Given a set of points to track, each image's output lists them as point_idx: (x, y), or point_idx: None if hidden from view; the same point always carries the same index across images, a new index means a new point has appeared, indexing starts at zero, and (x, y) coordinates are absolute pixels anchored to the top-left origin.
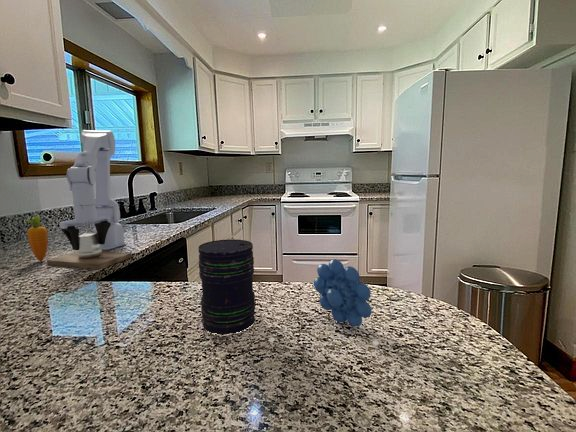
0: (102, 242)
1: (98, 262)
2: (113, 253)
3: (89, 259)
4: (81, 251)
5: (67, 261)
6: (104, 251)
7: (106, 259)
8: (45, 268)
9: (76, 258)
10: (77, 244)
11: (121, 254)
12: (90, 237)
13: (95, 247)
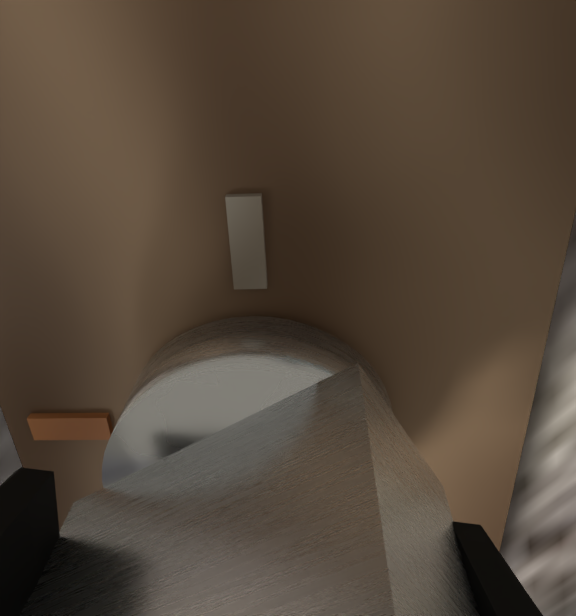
0: (39, 502)
1: (511, 37)
2: (32, 260)
3: (382, 324)
4: (433, 478)
5: (501, 481)
6: (45, 432)
7: (325, 64)
8: (565, 551)
9: None
10: (518, 606)
11: (2, 69)
12: (399, 612)
13: (213, 454)
